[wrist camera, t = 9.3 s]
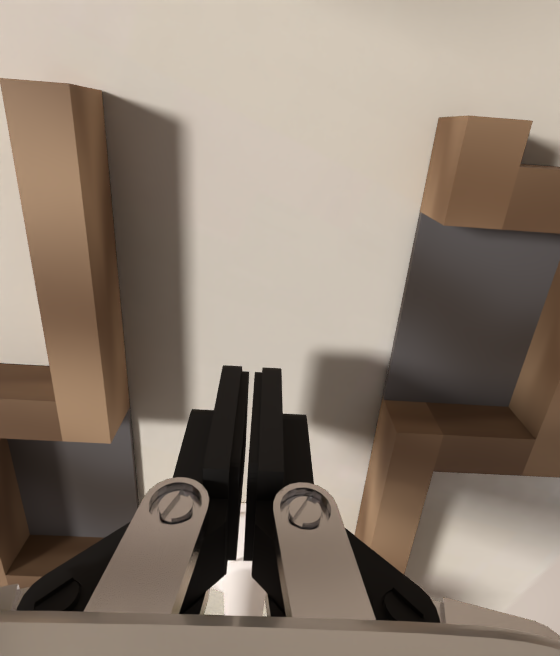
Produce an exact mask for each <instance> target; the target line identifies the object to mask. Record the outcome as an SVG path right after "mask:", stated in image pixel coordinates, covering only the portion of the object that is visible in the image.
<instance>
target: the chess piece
mask: <svg viewBox="0 0 560 656" xmlns="http://www.w3.org/2000/svg"><path fill="white" fill-rule="evenodd" d="M245 518H246V503H241V510H240V522H239V534H238V546H237V558H236V561H230V560H228V563H227V573H226V575H224V577H223V578H221V579H220V580H219V581H218V582H217V583H216V584H214V585H213V586H212V587H211V588H213V589H215V590H217V591H220V592H222V593H224V615H232V616H262V614H263V607H264V601H265V590H264V589H263V588H262V587H261V586H260V585H259V584H258V583H257V582H256V581H255V580H254V579H253V578H252V576H251V573H252V561H243V558H244V538H245Z"/></svg>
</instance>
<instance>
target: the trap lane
mask: <svg viewBox="0 0 560 656" xmlns="http://www.w3.org/2000/svg"><path fill="white" fill-rule="evenodd" d="M0 84H1V90H2V95H3V101H4V107H5V113H6V118H7V124H8V130H9V136H10V142H11V147H12V153H13V159H14V165H15V170H16V176H17V182H18V188H19V193H20V199H21V205H22V211H23V216H24V222H25V228H26V234H27V239H28V245H29V251H30V257H31V262H32V268H33V274H34V280H35V285H36V291H37V297H38V303H39V308H40V314H41V320H42V326H43V331H44V337H45V343H46V349H47V354H48V360H49V366H33V365H15V364H0V587H2V586H7V585H13V584H18V585H19V588H20V589H22V588H27V587H31V586H32V584H34V583H35V582H36V581H37V580H39V579H40V578H41V577H43V576H44V575H45V574H47V573H49V572H50V571H52V570H53V569H55V568H57V567H58V566H60V565H61V564H63V563H65V562H66V561H68V560H69V559H71V558H73V557H74V556H76V555H78V554H79V553H81V552H82V551H84V550H86V549H87V548H89V547H90V546H92V545H94V544H95V543H97V542H98V541H100V540H102V539H103V538H105V537H106V536H108V535H110V534H111V533H113V532H115V531H116V530H118V529H119V528H121V527H123V526H124V525H126V524H127V523H129V522H131V520H132V519H133V517H134V515H135V513H136V511H137V509H138V507H139V503H138V492H137V481H136V470H135V458H134V447H133V436H132V425H131V413H130V402H129V391H128V380H127V368H126V357H125V346H124V335H123V323H122V312H121V301H120V290H119V278H118V267H117V256H116V245H115V233H114V222H113V211H112V200H111V188H110V177H109V166H108V155H107V143H106V132H105V121H104V110H103V98H102V91H101V90H96V89H92V88H87V87H82V86H78V85H73V84H67V83H55V82H42V81H30V80H17V79H5V78H0ZM532 122H533V121H528V120H516V119H503V118H491V117H478V116H456V117H440V118H439V119H438V124H437V129H436V134H435V139H434V144H433V149H432V154H431V159H430V164H429V169H428V174H427V179H426V184H425V189H424V194H423V199H422V204H421V209H420V214H419V219H418V224H417V228H416V233H415V238H414V243H413V248H412V253H411V258H410V263H409V268H408V273H407V278H406V283H405V288H404V293H403V298H402V303H401V308H400V313H399V318H398V323H397V328H396V333H395V338H394V343H393V348H392V353H391V358H390V363H389V368H388V372H387V377H386V382H385V387H384V392H383V397H382V402H381V407H380V412H379V417H378V422H377V427H376V432H375V437H374V442H373V447H372V452H371V457H370V462H369V467H368V472H367V477H366V482H365V487H364V492H363V497H362V502H361V507H360V512H359V516H358V521H357V526H356V531H355V536H356V537H357V538H358V539H360V540H361V541H362V542H363V543H365V544H366V545H367V546H368V547H370V548H371V549H372V550H374V551H375V552H376V553H377V554H379V555H380V556H381V557H382V558H384V559H385V560H386V561H387V562H389V563H390V564H391V565H392V566H394V567H395V568H396V569H397V570H399V571H400V572H401V573H402V574H404V573H405V569H406V566H407V562H408V559H409V555H410V552H411V548H412V545H413V541H414V538H415V534H416V531H417V527H418V523H419V520H420V516H421V513H422V509H423V506H424V502H425V499H426V495H427V492H428V488H429V485H430V481H431V478H432V474H433V471H436V472H457V473H478V474H499V475H520V476H541V477H560V167H554V166H541V165H528V164H521V160H522V157H523V153H524V150H525V146H526V143H527V139H528V136H529V132H530V129H531V125H532Z"/></svg>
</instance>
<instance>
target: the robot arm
mask: <svg viewBox="0 0 560 656" xmlns="http://www.w3.org/2000/svg"><path fill="white" fill-rule="evenodd" d="M248 384H249V372H243V371H242V366H224V365H223V368H222V373H221V378H220V383H219V388H218V393H217V398H216V403H215V408H214V410H196V409H192V411H191V413H190V417H189V420H188V424H187V428H186V431H185V435H184V439H183V442H182V446H181V450H180V453H179V457H178V461H177V464H176V468H175V472H174V475H173V478H170V479H166V480H164V481H162V482H159V483H157V484H156V485H155V486H153V487H152V488H151V489H149V491H148V492H147V493H146V495H145V496H144V498H143V500H142V501H141V503H140V505H139V507H138V509H137V511H136V513H135V515H134V517H133V519H132V520H131V522H129V523H127V524H126V525H124V526H123V527H121V528H119V529H118V530H116V531H115V532H113V533H111V534H110V535H108V536H106V537H105V538H103V539H102V540H100V541H98V542H97V543H95V544H94V545H92V546H90V547H89V548H87V549H86V550H84V551H82V552H81V553H79V554H78V555H76V556H74V557H73V558H71V559H69V560H68V561H66V562H65V563H63V564H61V565H60V566H58V567H57V568H55V569H53V570H52V571H50V572H49V573H47V574H45V575H44V576H43V577H41V578H40V579H39V580H37V581H36V582H35V583H34V584H32V586H31V587H27V588H22V589H20V588H19V585H18V584H13V585H7V586H2V587H0V656H560V636H559V635H558V634H557V633H555V632H554V631H553V630H551V629H550V628H549V627H547V626H545V625H543V624H540V623H538V622H536V621H533V620H529V619H525V618H521V617H517V616H514V615H509V614H506V613H502V612H498V611H495V610H491V609H487V608H483V607H479V606H476V605H472V604H468V603H464V602H460V601H457V600H453V599H449V598H445V597H443V599H442V602H440V601H436V600H432V599H430V597H429V596H428V595H427V594H426V593H425V592H424V591H423V590H422V589H421V588H420V587H419V586H418V585H416V584H415V583H414V582H413V581H411V580H410V579H409V578H408V577H406V576H405V575H404V574H402V573H401V572H400V571H399V570H397V569H396V568H395V567H394V566H392V565H391V564H390V563H389V562H387V561H386V560H385V559H384V558H382V557H381V556H380V555H379V554H377V553H376V552H375V551H374V550H372V549H371V548H370V547H368V546H367V545H366V544H365V543H363V542H362V541H361V540H360V539H358V538H357V537H356V536H355V535H353V534H352V533H351V532H350V531H348V530H347V529H346V528H345V527H344V524H343V521H342V518H341V515H340V512H339V509H338V506H337V504H336V502H335V500H334V498H333V497H332V496H331V495H330V494H329V493H328V492H327V491H326V490H325V489H323V488H321V487H320V486H318V485H314V481H313V472H312V462H311V453H310V443H309V434H308V424H307V417H306V415H298V414H283V412H282V376H281V369H280V368H263V370H262V372H255V379H254V393H253V407H252V421H251V435H250V449H249V463H248V479H247V499H246V518H245V538H244V558H243V561H252V573H251V576H252V578H253V579H254V580H255V581H256V582H257V583H258V584H259V585H260V586H261V587H262V588H263V589H264V590H265V604H266V612H267V617H265V616H232V615H204V613H205V609H206V606H207V602H208V598H209V590H210V588H211V587H212V586H213V585H214V584H216V583H217V582H218V581H219V580H220V579H221V578H223V577H224V575H226V573H227V563H228V560H230V561H236V558H237V546H238V534H239V522H240V510H241V498H242V486H243V474H244V462H245V448H246V428H247V406H248Z"/></svg>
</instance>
